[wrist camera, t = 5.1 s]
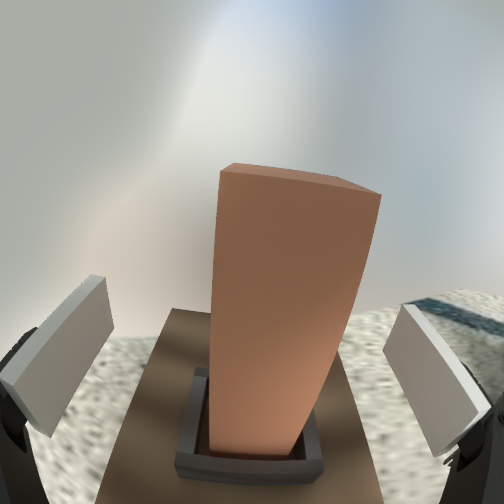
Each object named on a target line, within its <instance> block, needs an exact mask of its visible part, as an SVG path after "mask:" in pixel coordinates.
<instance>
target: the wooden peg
mask: <svg viewBox="0 0 504 504" xmlns="http://www.w3.org/2000/svg"><path fill="white" fill-rule="evenodd" d="M380 200H381V194H378V193H376V192H373V191H371V190H369V189H366V188H364V187H361V186H359V185H357V184H354V183H351V182H348V181H346V180H344V179H341V178H339V177H334V176H329V175H322V174H317V173H311V172H304V171H298V170H291V169H284V168H276V167H267V166H260V165H250V164H240V163H233V164H231V165H229V166H228V167H226V168H225V169H223V170H221V171H220V181H219V191H218V204H217V217H216V230H215V245H214V263H213V280H212V303H211V327H210V369H209V439H210V457H219V458H229V459H242V460H264V461H285V460H286V458H287V457H288V455H289V453H290V451H291V449H292V448H293V446H294V444H295V442H296V440H297V438H298V436H299V434H300V432H301V431H302V429H303V427H304V425H305V423H306V421H307V419H308V416H309V414H310V412H311V410H312V408H313V406H314V404H315V402H316V400H317V397H318V395H319V393H320V391H321V388H322V386H323V384H324V382H325V379H326V377H327V374H328V372H329V370H330V367H331V365H332V362H333V360H334V357H335V355H336V352H337V350H338V347H339V344H340V342H341V339H342V336H343V333H344V331H345V328H346V325H347V322H348V319H349V316H350V313H351V310H352V307H353V304H354V301H355V298H356V294H357V292H358V288H359V285H360V282H361V278H362V275H363V271H364V267H365V264H366V260H367V257H368V253H369V249H370V245H371V241H372V237H373V233H374V228H375V224H376V219H377V215H378V210H379V205H380Z"/></svg>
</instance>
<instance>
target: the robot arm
mask: <svg viewBox="0 0 504 504" xmlns="http://www.w3.org/2000/svg"><path fill="white" fill-rule="evenodd" d="M113 329H114V325H113V320H112V315H111V310H110V304H109V298H108V292H107V285H106V279H105V277H102V276H96V275H90V276H89V277H88V278H87V279H86V280H85V281H84V282H83V283H82V284H81V285H80V286H79V287H78V288H77V289H76V290H74V291H73V292H72V293H71V294H70V295H69V296H68V297H67V298H66V299H65V300H64V302H62V304H60V305H59V307H57V309H56V310H55V311H54V312H53V313H52V314H51V315H50V316H49V317H48V318H47V319H46V320H45V321H44V322H43V323H42V324H41V325H40V326H39V328H37V327H35V328H33V329H31V330H30V331H28V332H26V333H25V334H24V335H23V336H22V337H21V338H20V340H19V341H18V343H16V344H15V345H14V346H13V347H12V350H10V351H9V352H8V353H7V354H6V356H5V357H4V358H3V359H2V360H1V362H0V504H49V502H48V499H47V497H46V494H45V491H44V488H43V486H42V483H41V480H40V476H39V473H38V470H37V467H36V463H35V459H34V456H33V452H32V448H31V443H30V439H29V434H28V430H27V428H26V426H25V424H26V422H27V420H28V421H29V423H30V424H31V425H32V426H33V428H34V429H35V430H37V431H39V432H40V433H42V434H44V435H46V436H48V437H50V438H51V437H52V435H53V433H54V431H55V429H56V427H57V425H58V423H59V421H60V419H61V417H62V415H63V413H64V411H65V410H66V408H67V406H68V404H69V402H70V400H71V399H72V397H73V395H74V393H75V391H76V390H77V388H78V386H79V385H80V383H81V381H82V379H83V378H84V376H85V374H86V373H87V371H88V369H89V368H90V366H91V364H92V363H93V361H94V359H95V358H96V356H97V354H98V353H99V351H100V350H101V348H102V346H103V345H104V343H105V342H106V340H107V339H108V337H109V335H110V334H111V332H112V331H113ZM382 351H383V353H384V354H385V356H386V358H387V360H388V362H389V364H390V366H391V368H392V370H393V372H394V373H395V375H396V377H397V379H398V381H399V383H400V385H401V387H402V389H403V391H404V393H405V395H406V397H407V399H408V401H409V403H410V406H411V408H412V410H413V412H414V414H415V416H416V418H417V420H418V423H419V425H420V427H421V429H422V431H423V434H424V436H425V438H426V440H427V443H428V445H429V447H430V450H431V452H432V455H433V457H434V458H435V457H437V456H440V455H442V454H445V453H447V452H448V451H450V450H451V449H452V448H453V447H454V446H455V445H456V444H458V446H459V448H458V449H457V450H456V451H455V452H454V453H453V454H452V455H450V456H449V457H448V458H447V459H446V460H445V461H444V463H443V464H444V465H445V464H447V463H448V462H449V461H450V460H451V459H453V461H452V462H450V463H449V464H448V466H450V467H451V468H450V472H449V475H448V479H447V482H446V485H445V488H444V491H443V494H442V497H441V500H440V503H439V504H504V393H503V394H502V395H501V396H500V398H499V399H498V400H497V402H496V403H495V406H494V405H493V403H492V401H491V400H490V398H489V397H488V395H487V394H486V392H485V391H484V389H483V388H482V387H481V385H480V384H478V381H477V379H476V378H475V377H473V374H472V372H471V371H470V370H469V368H468V367H467V366H466V365H465V364H463V363H462V362H461V361H460V360H459V359H458V358H457V357H456V355H455V354H454V353H453V351H452V350H451V349H450V347H449V346H448V345H447V344H446V342H445V341H444V340H443V338H442V337H441V336H440V335H439V333H438V332H437V331H436V330H435V328H434V327H433V326H432V325H431V324H430V322H429V321H428V320H427V319H426V318H425V316H424V315H423V314H422V313H421V312H420V310H419V309H418V308H417V307H416V306H415V305H404V304H402V306H401V309H400V311H399V314H398V316H397V319H396V321H395V324H394V326H393V328H392V331H391V333H390V335H389V337H388V339H387V342H386V344H385V346H384V348H383V350H382Z"/></svg>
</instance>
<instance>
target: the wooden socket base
mask: <svg viewBox="0 0 504 504" xmlns="http://www.w3.org/2000/svg"><path fill="white" fill-rule="evenodd" d="M210 327H211V313H204V312H195V311H189V310H181V309H174V308H172V310H171V312H170V314H169V316H168V318H167V320H166V323H165V325H164V327H163V329H162V331H161V333H160V336H159V338H158V340H157V342H156V345H155V347H154V349H153V351H152V354H151V356H150V358H149V360H148V363H147V365H146V367H145V370H144V372H143V374H142V377H141V379H140V382H139V384H138V386H137V389H136V391H135V394H134V396H133V399H132V401H131V404H130V406H129V409H128V411H127V414H126V416H125V419H124V421H123V424H122V426H121V429H120V432H119V434H118V437H117V440H116V442H115V445H114V448H113V451H112V453H111V456H110V459H109V462H108V465H107V468H106V470H105V473H104V476H103V479H102V482H101V485H100V488H99V492H98V495H97V498H96V501H95V504H384V502H383V498H382V494H381V490H380V486H379V482H378V478H377V475H376V471H375V467H374V464H373V460H372V457H371V453H370V450H369V446H368V443H367V439H366V436H365V433H364V429H363V426H362V423H361V420H360V416H359V413H358V410H357V407H356V404H355V401H354V398H353V394H352V391H351V388H350V385H349V382H348V379H347V376H346V374H345V371H344V368H343V365H342V362H341V359H340V356H339V353H338V351H337V352H336V355H335V357H334V360H333V362H332V365H331V367H330V370H329V372H328V374H327V377H326V379H325V382H324V384H323V386H322V388H321V391H320V393H319V395H318V397H317V400H316V402H315V404H314V406H313V408H312V410H311V412H310V414H309V416H308V419H307V421H306V423H305V425H304V427H303V429H302V431H301V432H300V434H299V436H298V438H297V440H296V442H295V444H294V446H293V448H292V449H291V451H290V453H289V455H288V457H287V458H286V460H285V461H264V460H242V459H229V458H219V457H210V439H209V369H210Z"/></svg>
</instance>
